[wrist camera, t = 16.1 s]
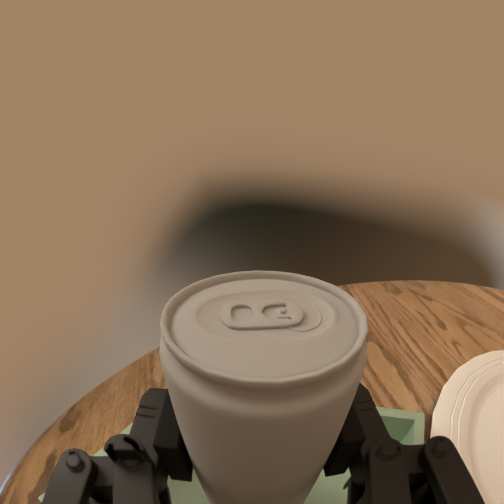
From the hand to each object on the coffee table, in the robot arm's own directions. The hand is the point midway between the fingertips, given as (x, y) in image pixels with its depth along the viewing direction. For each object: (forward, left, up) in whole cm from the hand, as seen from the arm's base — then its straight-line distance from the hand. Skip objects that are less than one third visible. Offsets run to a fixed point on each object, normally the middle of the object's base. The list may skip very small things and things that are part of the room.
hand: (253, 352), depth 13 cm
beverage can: (+2, -5, -7) cm, 9 cm away
